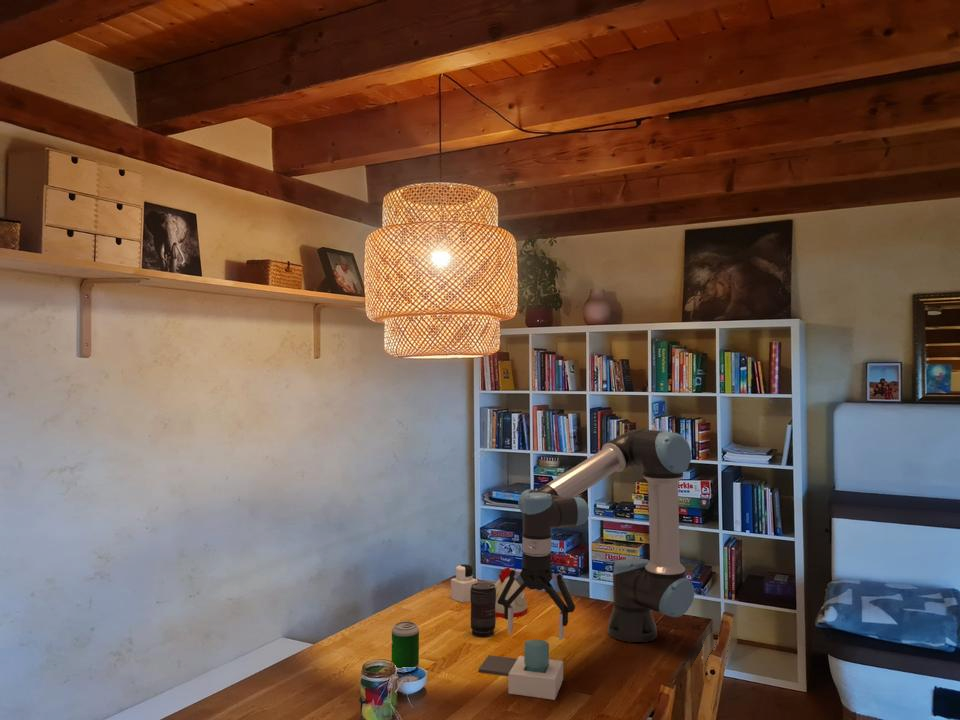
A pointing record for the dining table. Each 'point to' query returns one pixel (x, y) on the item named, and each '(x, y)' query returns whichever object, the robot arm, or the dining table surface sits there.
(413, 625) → the soda can
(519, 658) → the bore block
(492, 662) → the slate mat
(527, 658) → the capped plug
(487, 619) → the camera lens
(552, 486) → the robot arm
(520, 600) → the kitchen timer
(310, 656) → the dining table surface
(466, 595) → the medicine bottle
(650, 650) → the dining table surface
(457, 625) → the dining table surface
